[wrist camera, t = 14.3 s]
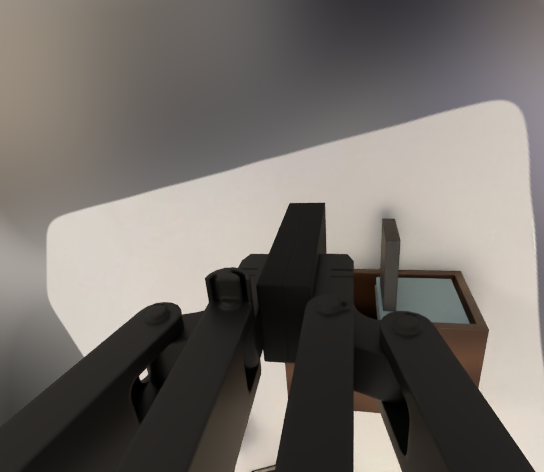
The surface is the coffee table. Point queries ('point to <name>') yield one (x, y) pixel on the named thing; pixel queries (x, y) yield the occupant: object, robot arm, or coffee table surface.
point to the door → (413, 286)
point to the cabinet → (458, 336)
